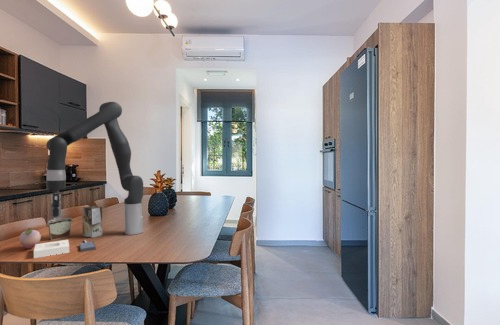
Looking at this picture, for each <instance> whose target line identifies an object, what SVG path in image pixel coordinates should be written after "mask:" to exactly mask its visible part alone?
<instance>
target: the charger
mask: <svg viewBox="0 0 500 325" xmlns="http://www.w3.org/2000/svg"><path fill="white" fill-rule="evenodd" d="M54 205H58V203H55V204H54ZM52 206H53V204H52V203H51V202H50V219H59V218H62V202H61V201H60V203H59V216H57V217H53V208H52Z"/></svg>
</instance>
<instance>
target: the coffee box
mask: <svg viewBox="0 0 500 325" xmlns="http://www.w3.org/2000/svg"><path fill="white" fill-rule="evenodd" d="M81 210H82V211H81V213H82V215H81V216H82V220H81V221H82V237H87V238H92V239H93V238H97V237H101V236H103V207H102V206H96V205H95V206H94V205H90V206H84V207H82V208H81Z"/></svg>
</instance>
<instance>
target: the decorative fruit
mask: <svg viewBox="0 0 500 325" xmlns="http://www.w3.org/2000/svg"><path fill="white" fill-rule="evenodd" d="M41 238H42V235H41V233H40V232H39V230H35V229H32V228H31V229H30V227H28V229H26V230H24V231H22V233H20V235H19V237H18V240H19V244H20V245H21V246H22V247H24V248H26V249H31V248H33V247H35V244H39V243H40V241H41Z"/></svg>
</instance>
